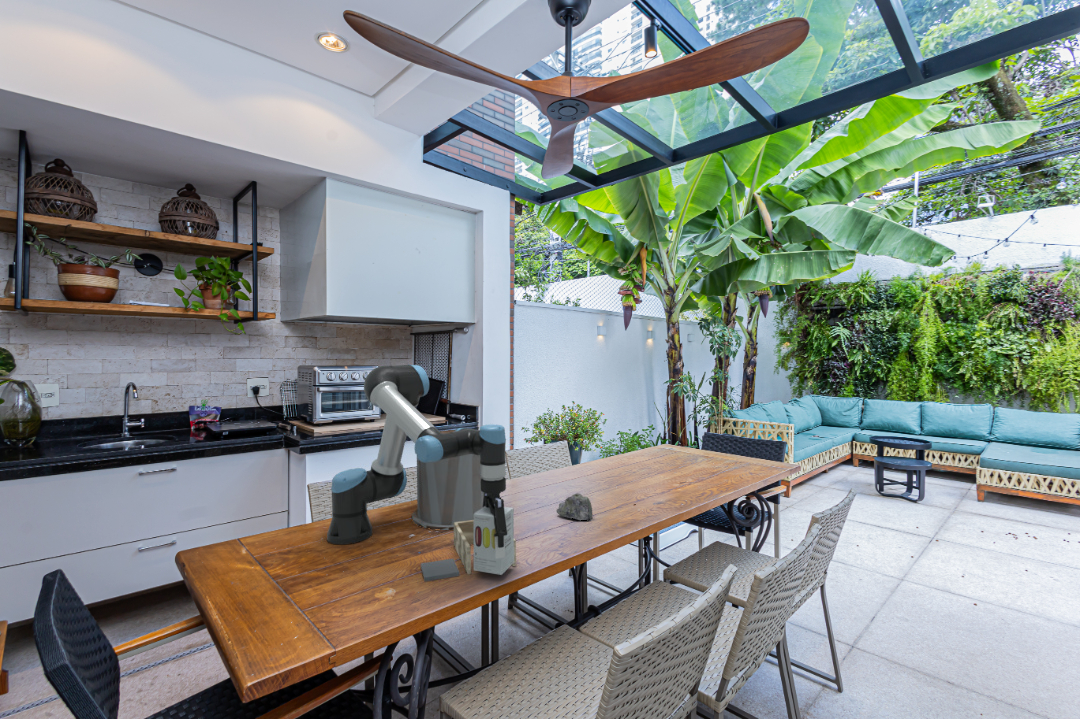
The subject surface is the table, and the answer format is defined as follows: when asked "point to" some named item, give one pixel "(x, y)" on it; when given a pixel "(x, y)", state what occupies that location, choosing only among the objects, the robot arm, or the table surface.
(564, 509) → the mineral rock
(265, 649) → the table surface
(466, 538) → the shelf bay
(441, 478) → the grey streaked cylinder
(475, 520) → the supplement box
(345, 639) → the table surface
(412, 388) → the robot arm
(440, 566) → the plate
